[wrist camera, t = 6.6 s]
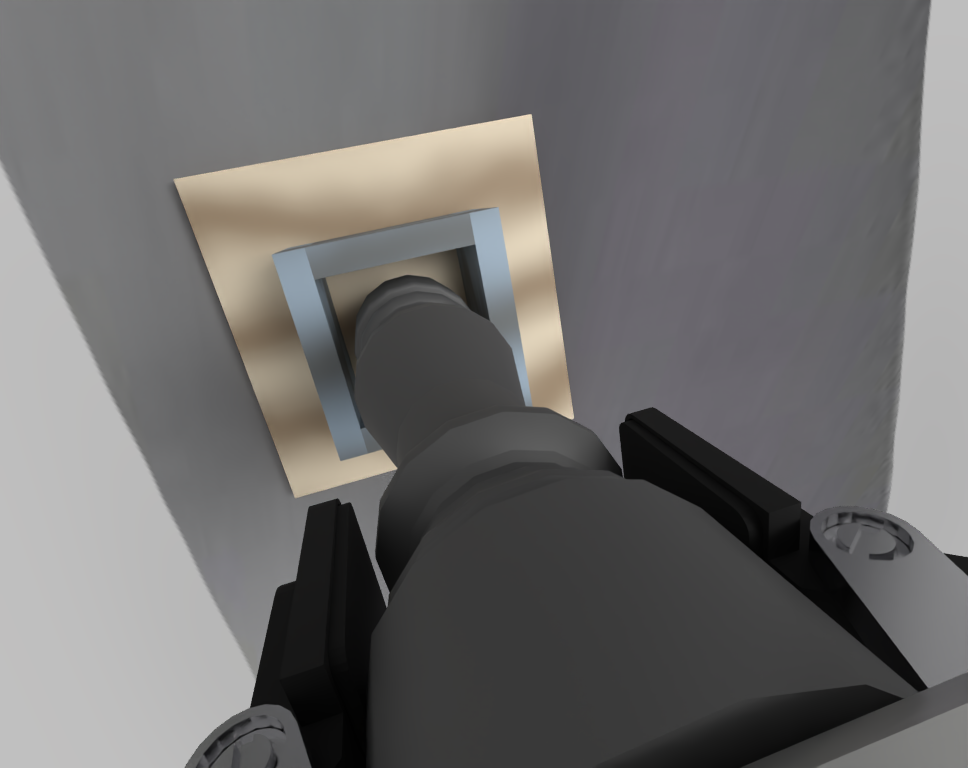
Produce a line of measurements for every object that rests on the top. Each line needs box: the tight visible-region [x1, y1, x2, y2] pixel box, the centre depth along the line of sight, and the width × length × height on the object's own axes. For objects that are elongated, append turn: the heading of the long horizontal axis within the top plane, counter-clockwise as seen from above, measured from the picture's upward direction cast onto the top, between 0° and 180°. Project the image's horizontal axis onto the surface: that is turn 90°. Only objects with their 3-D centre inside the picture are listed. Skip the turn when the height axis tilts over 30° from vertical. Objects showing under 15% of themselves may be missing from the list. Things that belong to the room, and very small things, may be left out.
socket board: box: [174, 114, 574, 498], centre depth 29 cm, size 20×20×7 cm
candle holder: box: [354, 275, 919, 768], centre depth 16 cm, size 6×6×25 cm
